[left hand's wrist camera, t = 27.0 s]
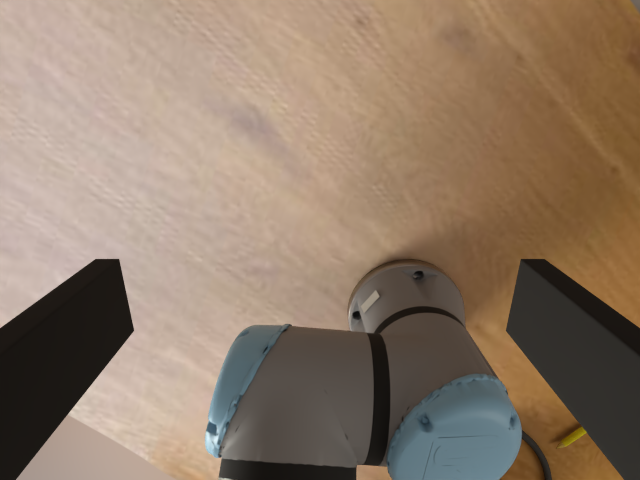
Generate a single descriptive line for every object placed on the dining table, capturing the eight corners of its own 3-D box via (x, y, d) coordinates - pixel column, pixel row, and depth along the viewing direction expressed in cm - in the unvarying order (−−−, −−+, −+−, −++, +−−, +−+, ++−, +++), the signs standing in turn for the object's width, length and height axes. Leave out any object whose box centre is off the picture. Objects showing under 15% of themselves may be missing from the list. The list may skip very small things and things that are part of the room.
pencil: (642, 381, 56) (648, 386, 55) (646, 385, 56) (652, 390, 55) (552, 444, 60) (555, 450, 59) (556, 447, 60) (559, 453, 59)
